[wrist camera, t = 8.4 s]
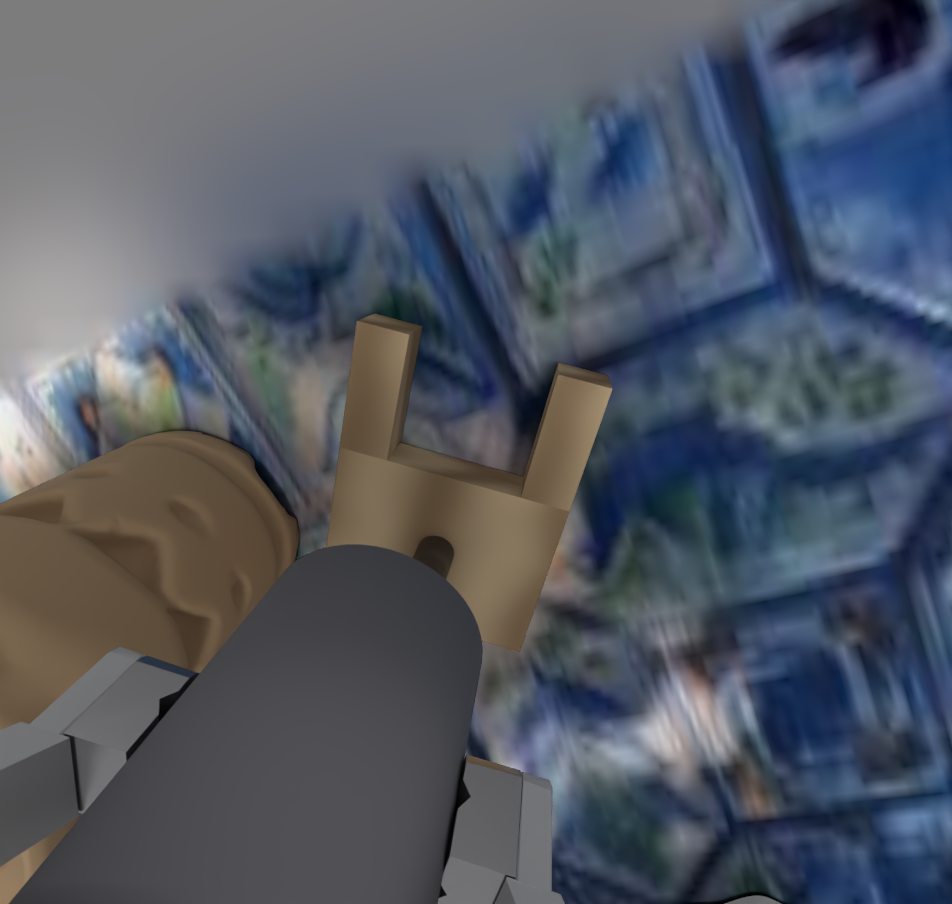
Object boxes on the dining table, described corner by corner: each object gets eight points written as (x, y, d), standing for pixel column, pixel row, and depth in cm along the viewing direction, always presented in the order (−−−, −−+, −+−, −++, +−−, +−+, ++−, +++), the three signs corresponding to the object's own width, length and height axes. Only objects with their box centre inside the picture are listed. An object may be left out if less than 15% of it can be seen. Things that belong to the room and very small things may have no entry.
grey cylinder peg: (524, 686, 11) (483, 1215, 5) (350, 744, 13) (159, 1209, 7) (400, 507, 10) (152, 925, 4) (225, 595, 11) (-153, 995, 5)
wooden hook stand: (607, 375, 26) (659, 522, 12) (521, 626, 32) (494, 899, 19) (374, 313, 26) (183, 390, 13) (336, 572, 33) (182, 800, 19)
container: (172, 383, 29) (-322, 569, 13) (340, 531, 31) (98, 852, 15) (80, 512, 34) (-371, 771, 17) (231, 634, 36) (-44, 966, 20)
